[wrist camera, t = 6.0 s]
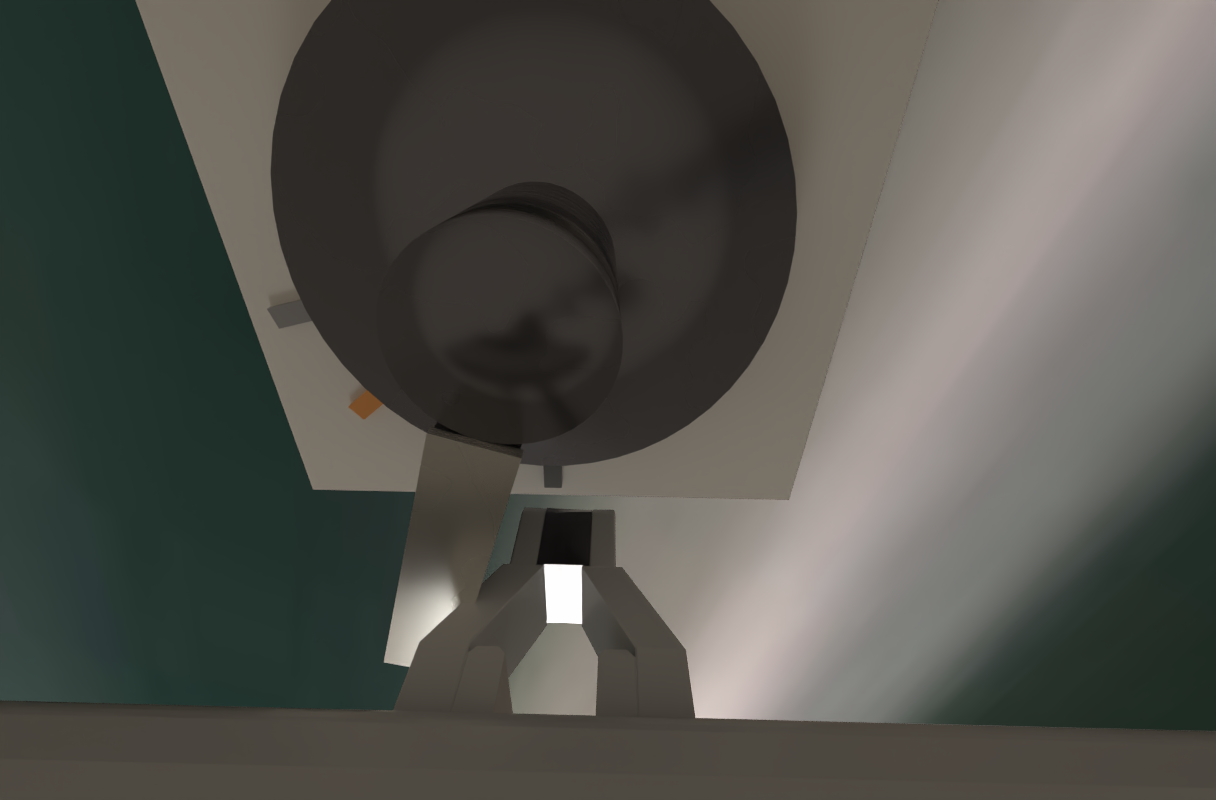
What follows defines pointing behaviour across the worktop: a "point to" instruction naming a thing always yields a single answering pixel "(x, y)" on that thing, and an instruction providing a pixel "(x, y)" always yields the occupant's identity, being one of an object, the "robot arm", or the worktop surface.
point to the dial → (529, 239)
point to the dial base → (762, 396)
